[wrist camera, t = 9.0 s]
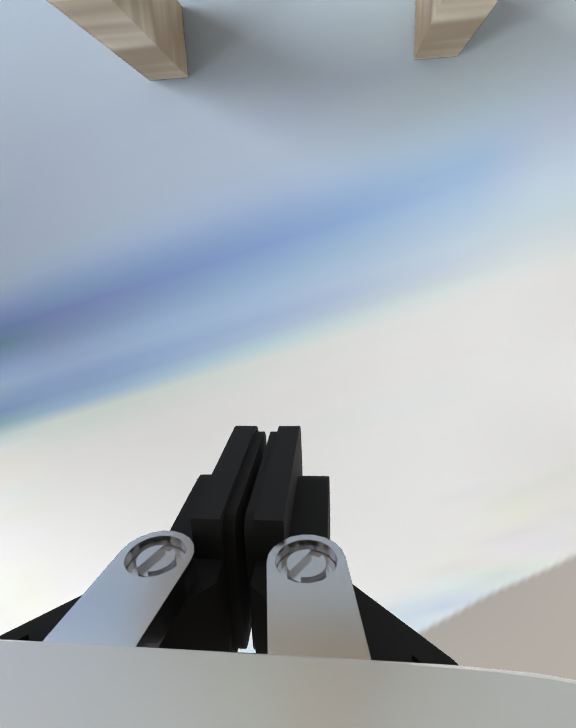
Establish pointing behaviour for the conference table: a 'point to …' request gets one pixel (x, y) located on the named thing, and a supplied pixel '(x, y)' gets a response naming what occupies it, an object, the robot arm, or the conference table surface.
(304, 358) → the conference table surface
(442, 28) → the bridge
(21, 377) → the conference table surface
